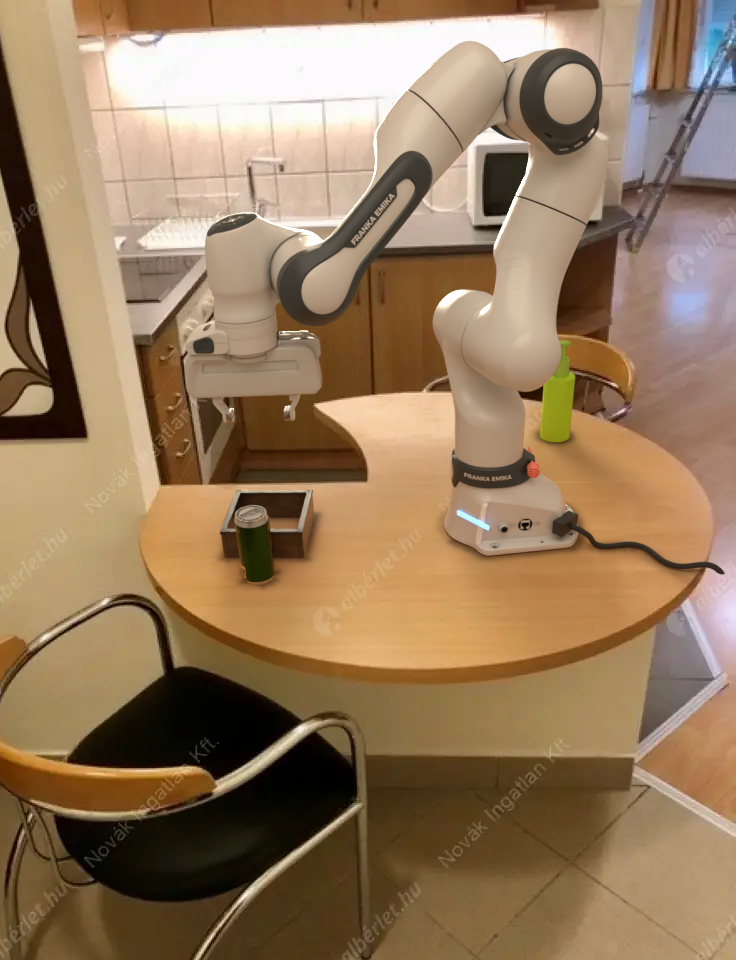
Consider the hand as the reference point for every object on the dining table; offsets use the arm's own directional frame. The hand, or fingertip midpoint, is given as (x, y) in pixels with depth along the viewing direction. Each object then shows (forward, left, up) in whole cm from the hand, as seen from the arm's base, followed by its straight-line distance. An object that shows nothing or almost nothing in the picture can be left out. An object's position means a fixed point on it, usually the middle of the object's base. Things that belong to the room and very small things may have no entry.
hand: (259, 420), depth 131 cm
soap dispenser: (-50, -43, -25) cm, 71 cm away
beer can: (+2, +7, -25) cm, 26 cm away
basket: (+2, -5, -25) cm, 25 cm away
